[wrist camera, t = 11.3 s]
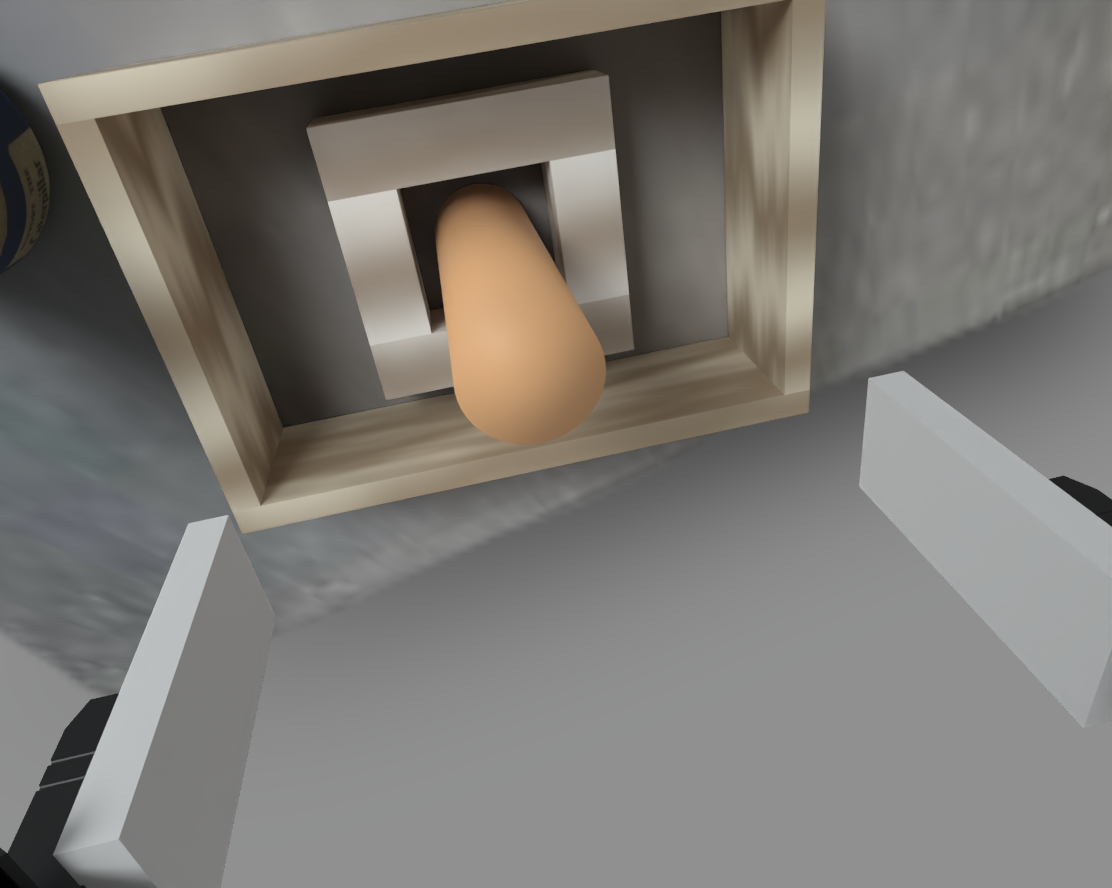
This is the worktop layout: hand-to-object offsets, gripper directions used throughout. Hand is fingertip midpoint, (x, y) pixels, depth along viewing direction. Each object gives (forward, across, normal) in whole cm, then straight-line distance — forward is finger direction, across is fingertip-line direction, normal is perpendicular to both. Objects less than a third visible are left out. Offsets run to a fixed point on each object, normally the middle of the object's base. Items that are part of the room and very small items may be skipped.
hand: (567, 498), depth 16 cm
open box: (+23, 0, -1) cm, 23 cm away
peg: (+23, 0, -1) cm, 23 cm away
